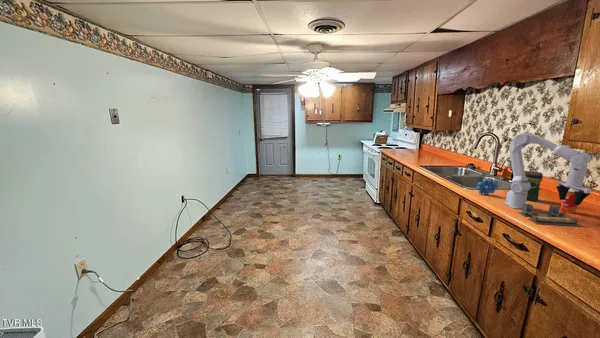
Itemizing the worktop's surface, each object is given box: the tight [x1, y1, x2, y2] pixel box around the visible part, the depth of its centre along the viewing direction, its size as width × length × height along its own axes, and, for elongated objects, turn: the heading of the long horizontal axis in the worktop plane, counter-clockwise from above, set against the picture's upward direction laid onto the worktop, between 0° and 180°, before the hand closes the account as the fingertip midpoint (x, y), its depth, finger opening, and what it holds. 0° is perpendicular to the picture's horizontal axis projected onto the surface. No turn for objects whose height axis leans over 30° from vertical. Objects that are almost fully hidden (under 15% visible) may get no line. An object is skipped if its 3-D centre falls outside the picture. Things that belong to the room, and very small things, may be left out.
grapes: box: [475, 177, 499, 196], centre depth 169 cm, size 12×7×12 cm, turn 56°
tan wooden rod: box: [531, 215, 579, 224], centre depth 126 cm, size 19×3×3 cm, turn 82°
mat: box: [527, 218, 582, 228], centre depth 127 cm, size 6×20×1 cm, turn 82°
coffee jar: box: [525, 170, 544, 202], centre depth 160 cm, size 10×8×19 cm
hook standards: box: [518, 203, 567, 218], centre depth 133 cm, size 7×18×6 cm, turn 82°
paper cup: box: [560, 188, 578, 214], centre depth 140 cm, size 8×8×14 cm
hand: (569, 202), depth 128 cm, fingers open, 7 cm apart
